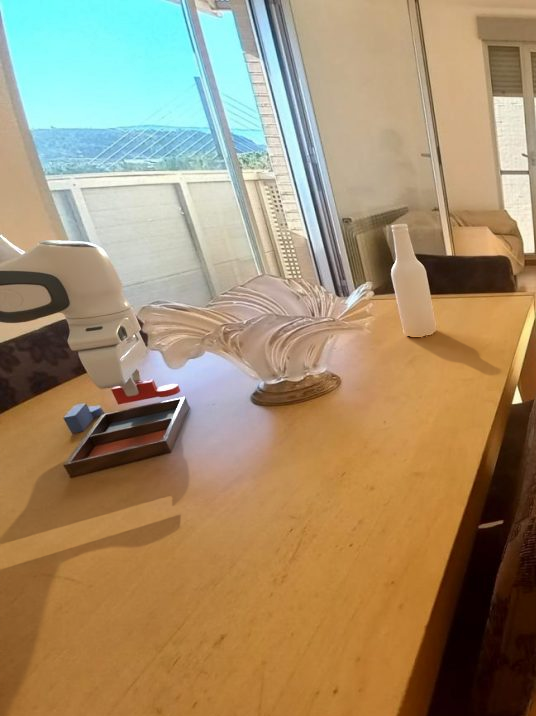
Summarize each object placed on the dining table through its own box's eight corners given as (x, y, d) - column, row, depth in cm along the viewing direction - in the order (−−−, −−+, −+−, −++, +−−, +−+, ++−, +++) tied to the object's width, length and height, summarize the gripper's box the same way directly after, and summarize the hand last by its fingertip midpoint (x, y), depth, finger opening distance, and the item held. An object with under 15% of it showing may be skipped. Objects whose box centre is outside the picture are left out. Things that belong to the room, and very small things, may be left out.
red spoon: (116, 406, 93) (109, 391, 92) (121, 399, 96) (114, 384, 95) (178, 394, 98) (172, 379, 97) (181, 388, 101) (175, 373, 99)
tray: (70, 477, 75) (63, 465, 74) (107, 425, 90) (101, 414, 89) (171, 452, 81) (165, 440, 80) (189, 407, 96) (185, 396, 95)
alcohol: (430, 326, 140) (411, 221, 129) (441, 333, 134) (421, 224, 123) (400, 333, 135) (376, 225, 124) (409, 340, 129) (386, 227, 117)
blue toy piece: (91, 429, 89) (82, 413, 87) (64, 435, 87) (55, 419, 86) (106, 409, 96) (98, 394, 95) (81, 415, 94) (73, 399, 93)
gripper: (100, 316, 97) (127, 378, 102) (63, 345, 81) (98, 416, 86) (141, 311, 100) (166, 371, 105) (114, 337, 84) (145, 406, 89)
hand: (135, 391), depth 95 cm, fingers closed on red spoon
